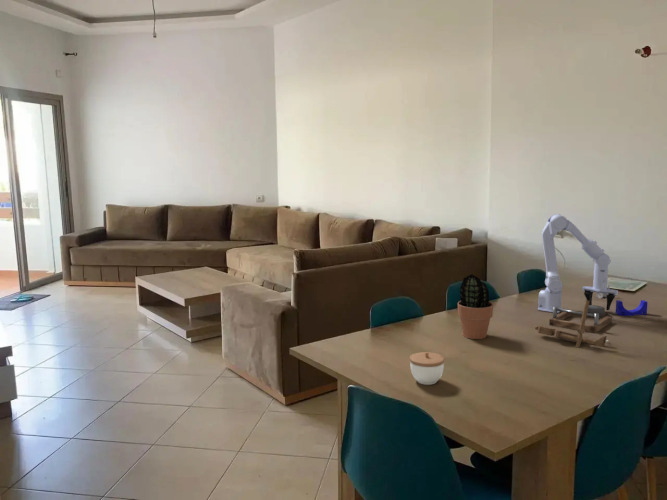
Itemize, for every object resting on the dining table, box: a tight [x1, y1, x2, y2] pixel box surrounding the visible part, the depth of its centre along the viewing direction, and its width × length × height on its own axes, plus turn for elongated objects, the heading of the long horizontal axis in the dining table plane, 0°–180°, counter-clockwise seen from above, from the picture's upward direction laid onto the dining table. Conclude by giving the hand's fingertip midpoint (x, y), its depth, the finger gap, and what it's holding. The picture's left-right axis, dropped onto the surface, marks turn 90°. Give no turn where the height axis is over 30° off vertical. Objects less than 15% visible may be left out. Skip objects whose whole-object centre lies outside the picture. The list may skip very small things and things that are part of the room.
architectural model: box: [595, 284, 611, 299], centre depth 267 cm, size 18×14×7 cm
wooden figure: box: [534, 299, 609, 348], centre depth 210 cm, size 14×18×25 cm
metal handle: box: [552, 307, 600, 325], centre depth 227 cm, size 18×2×7 cm, turn 47°
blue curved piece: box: [615, 299, 648, 317], centre depth 244 cm, size 12×4×6 cm, turn 84°
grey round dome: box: [587, 304, 606, 318], centre depth 245 cm, size 8×8×4 cm
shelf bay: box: [548, 311, 612, 334], centre depth 232 cm, size 18×20×2 cm
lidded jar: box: [409, 351, 445, 386], centre depth 174 cm, size 11×11×9 cm
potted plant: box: [457, 273, 494, 340], centre depth 218 cm, size 14×14×25 cm
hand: (598, 308), depth 249 cm, fingers open, 7 cm apart
